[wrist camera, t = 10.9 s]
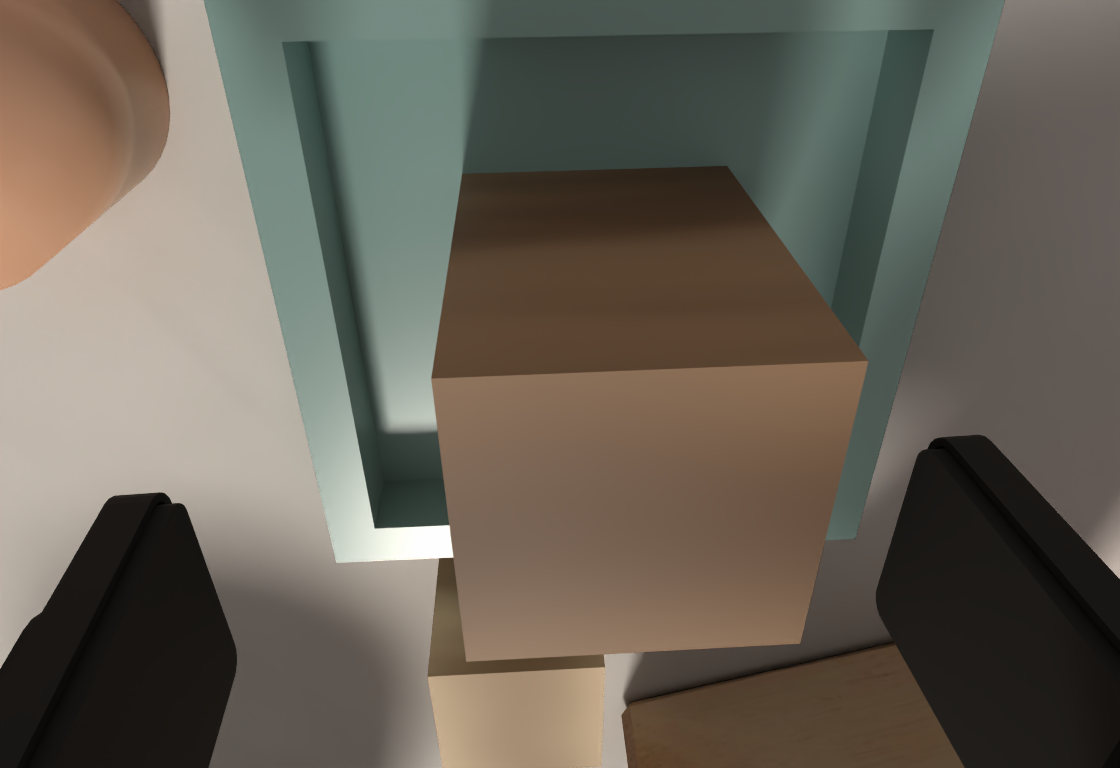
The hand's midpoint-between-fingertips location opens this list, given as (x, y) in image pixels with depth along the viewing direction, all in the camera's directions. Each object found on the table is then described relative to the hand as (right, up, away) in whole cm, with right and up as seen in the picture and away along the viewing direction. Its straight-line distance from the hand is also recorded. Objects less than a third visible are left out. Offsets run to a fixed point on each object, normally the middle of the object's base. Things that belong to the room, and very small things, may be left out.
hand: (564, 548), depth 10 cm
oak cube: (-1, -4, +12) cm, 13 cm away
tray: (+1, +4, +6) cm, 8 cm away
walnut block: (+1, +4, +6) cm, 7 cm away
